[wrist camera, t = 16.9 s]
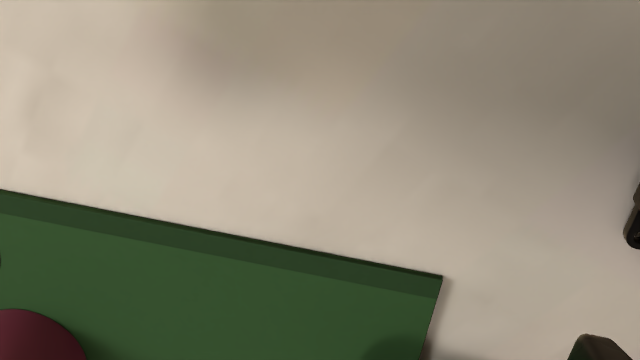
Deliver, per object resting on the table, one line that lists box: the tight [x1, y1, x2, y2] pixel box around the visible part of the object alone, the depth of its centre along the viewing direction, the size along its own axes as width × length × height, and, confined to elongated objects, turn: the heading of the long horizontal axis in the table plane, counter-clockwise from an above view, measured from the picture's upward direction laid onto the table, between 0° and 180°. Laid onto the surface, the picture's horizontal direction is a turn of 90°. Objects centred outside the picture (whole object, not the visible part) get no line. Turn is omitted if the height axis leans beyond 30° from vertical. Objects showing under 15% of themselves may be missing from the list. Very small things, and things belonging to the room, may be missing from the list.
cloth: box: [0, 190, 443, 360], centre depth 28 cm, size 22×14×1 cm, turn 82°
